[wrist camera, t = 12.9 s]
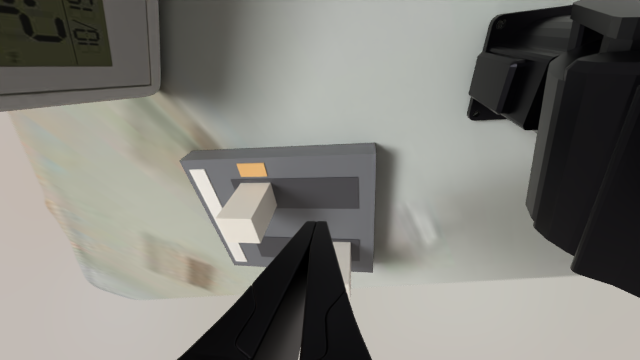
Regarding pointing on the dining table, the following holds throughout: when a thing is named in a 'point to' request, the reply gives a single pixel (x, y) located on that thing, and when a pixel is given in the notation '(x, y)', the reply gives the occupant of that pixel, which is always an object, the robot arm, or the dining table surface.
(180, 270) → the dining table surface
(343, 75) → the dining table surface
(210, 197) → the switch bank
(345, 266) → the switch tab
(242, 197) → the switch tab
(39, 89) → the digital clock
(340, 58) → the dining table surface
